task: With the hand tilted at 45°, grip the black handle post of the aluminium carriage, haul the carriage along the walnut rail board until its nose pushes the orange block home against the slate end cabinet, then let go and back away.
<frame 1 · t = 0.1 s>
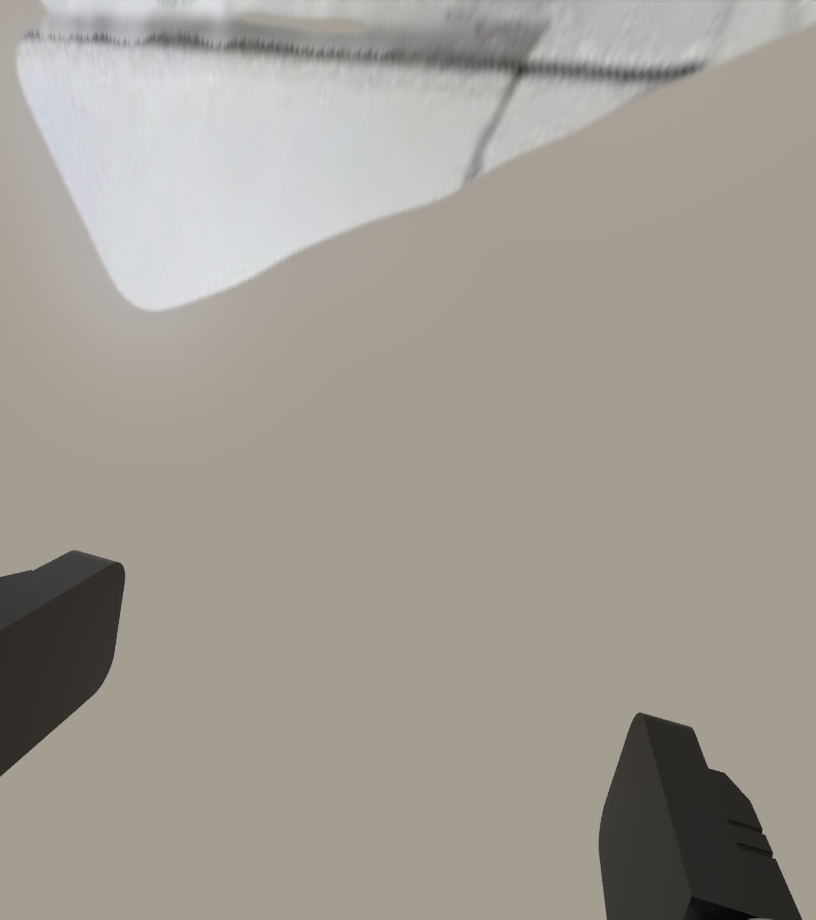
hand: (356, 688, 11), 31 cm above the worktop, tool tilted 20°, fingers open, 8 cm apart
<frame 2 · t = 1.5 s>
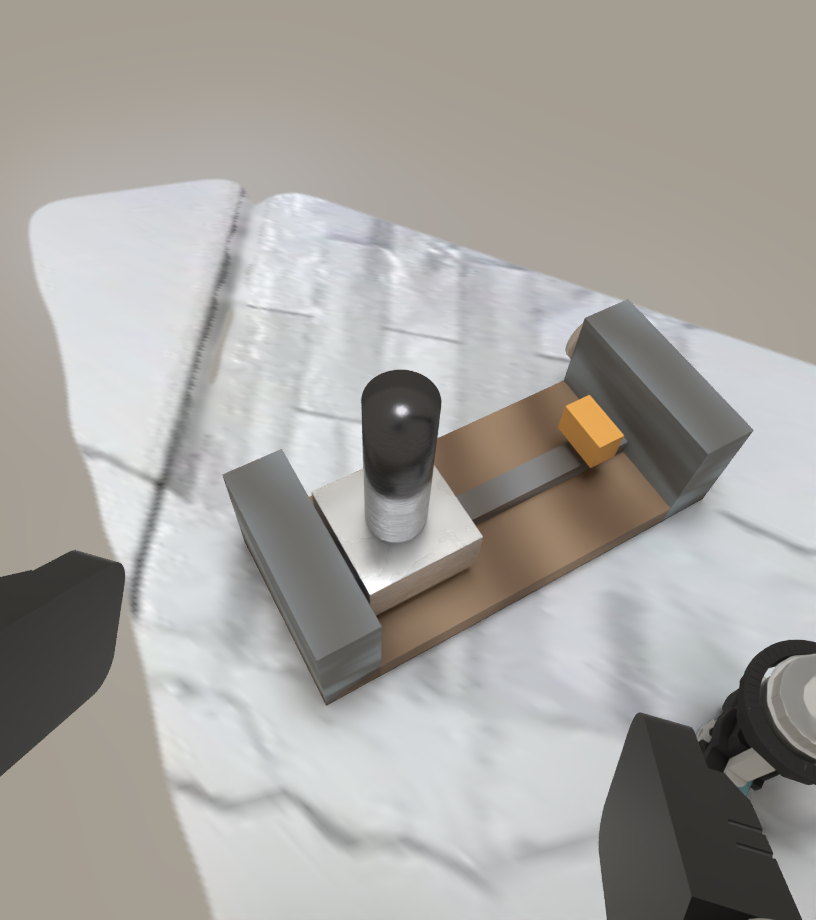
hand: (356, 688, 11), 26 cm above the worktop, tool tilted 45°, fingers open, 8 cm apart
rail base: (480, 519, 42), on the worktop
carriage: (397, 482, 33), point 9 cm above the worktop, slide at 5.5 cm
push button: (727, 745, 36), on the worktop
orange block: (590, 431, 40), point 4 cm above the worktop, slide at 1.5 cm
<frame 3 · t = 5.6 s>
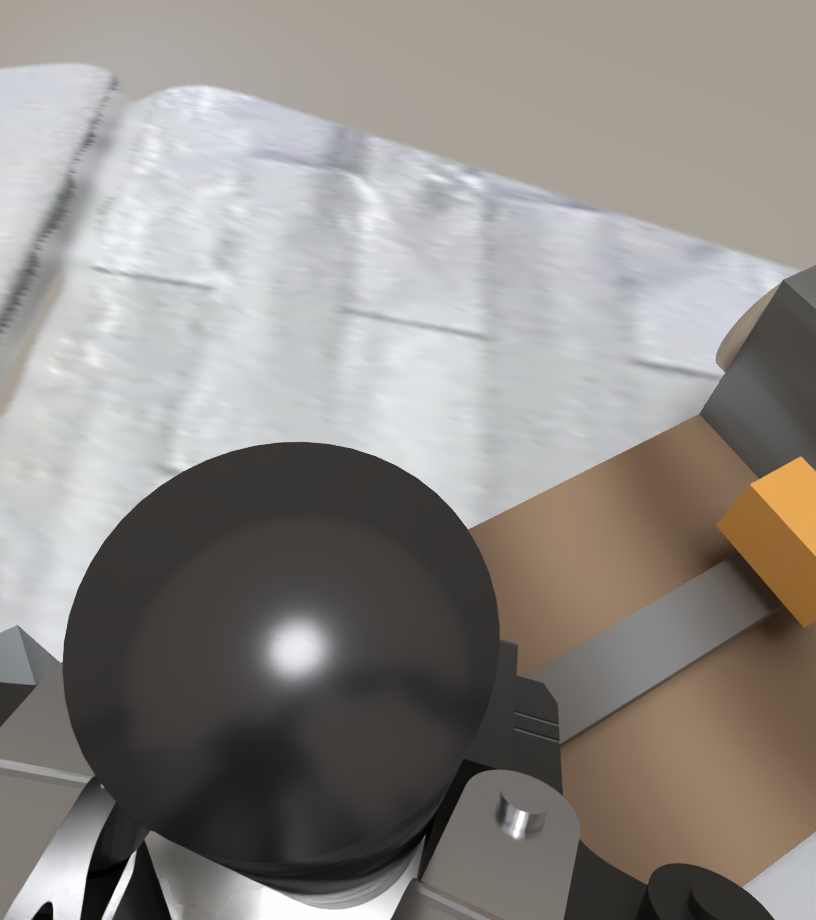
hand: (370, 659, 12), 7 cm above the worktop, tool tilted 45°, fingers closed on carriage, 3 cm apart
rail base: (540, 724, 19), on the worktop
carriage: (328, 775, 10), point 9 cm above the worktop, slide at 5.5 cm, touching gripper
orange block: (802, 541, 17), point 4 cm above the worktop, slide at 1.5 cm
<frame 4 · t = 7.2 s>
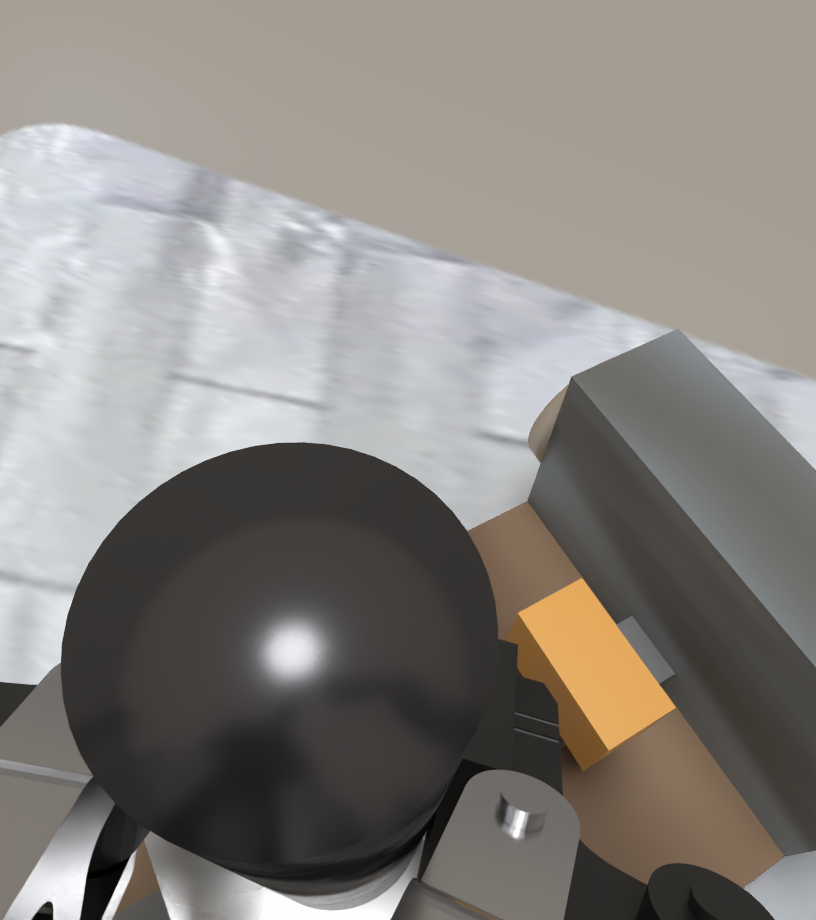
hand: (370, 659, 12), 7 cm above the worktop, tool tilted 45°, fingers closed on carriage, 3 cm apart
rail base: (314, 862, 17), on the worktop
carriage: (327, 776, 10), point 9 cm above the worktop, slide at -0.8 cm, touching gripper
orange block: (582, 674, 16), point 4 cm above the worktop, slide at 1.5 cm
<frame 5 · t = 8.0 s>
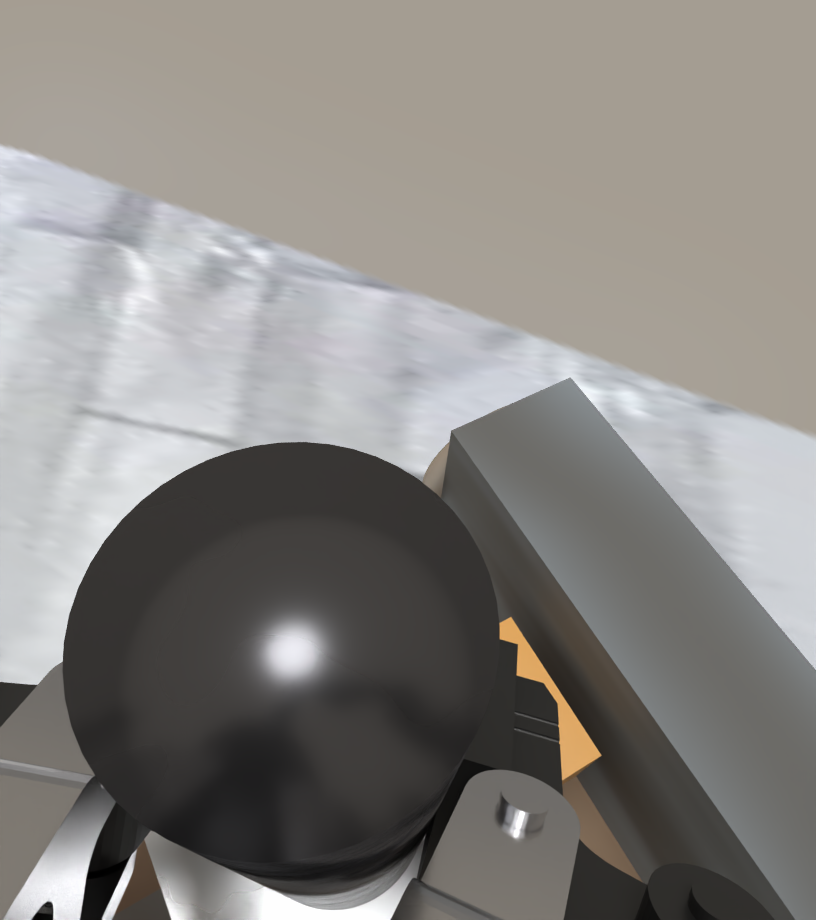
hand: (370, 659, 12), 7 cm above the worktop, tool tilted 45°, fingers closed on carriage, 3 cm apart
carriage: (328, 776, 10), point 9 cm above the worktop, slide at -3.9 cm, touching orange block, gripper
orange block: (511, 716, 15), point 4 cm above the worktop, slide at 0.2 cm, touching carriage
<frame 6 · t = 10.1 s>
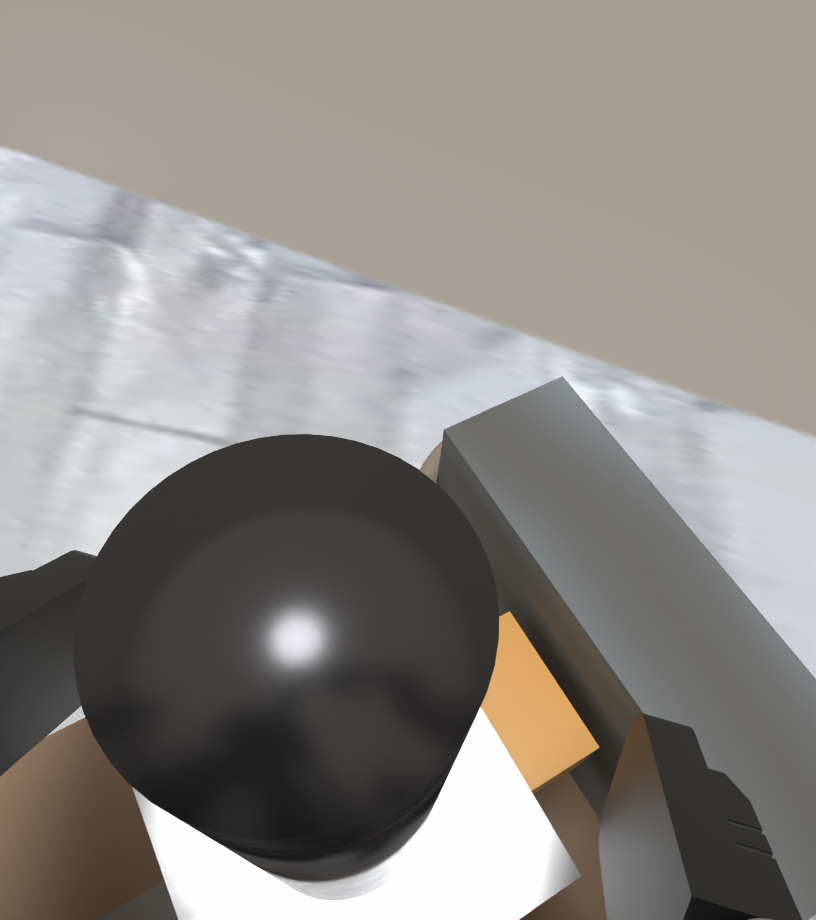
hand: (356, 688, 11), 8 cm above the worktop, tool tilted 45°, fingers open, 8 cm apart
carriage: (330, 766, 10), point 9 cm above the worktop, slide at -4.0 cm, touching orange block
orange block: (510, 709, 15), point 4 cm above the worktop, slide at 0.1 cm, touching carriage
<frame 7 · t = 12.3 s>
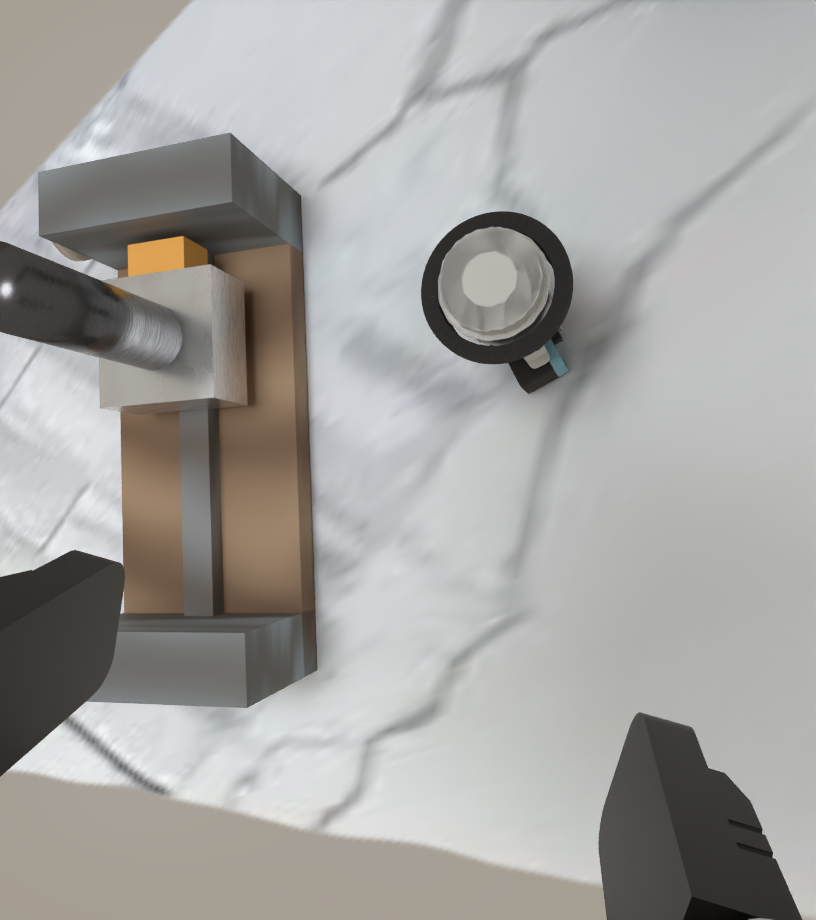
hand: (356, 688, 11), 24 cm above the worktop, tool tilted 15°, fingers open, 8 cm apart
rail base: (220, 434, 39), on the worktop
carriage: (110, 323, 32), point 9 cm above the worktop, slide at -4.0 cm, touching orange block
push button: (523, 326, 35), on the worktop
orange block: (168, 263, 36), point 4 cm above the worktop, slide at 0.1 cm, touching carriage
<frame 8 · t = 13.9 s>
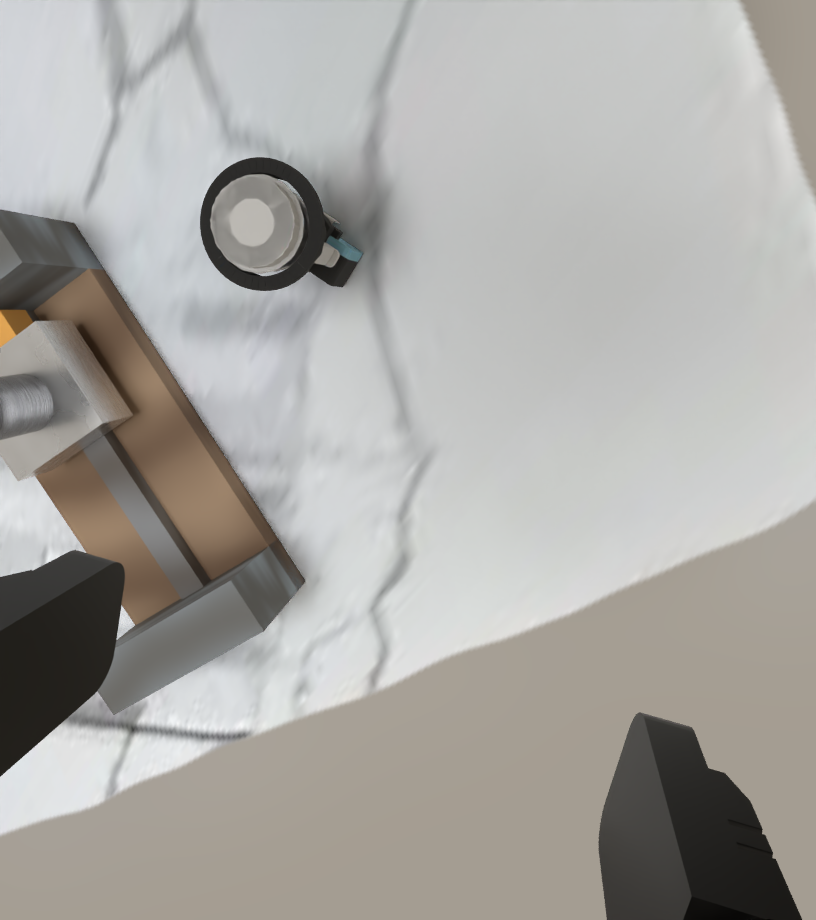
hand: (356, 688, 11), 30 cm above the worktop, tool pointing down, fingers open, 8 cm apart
rail base: (127, 450, 44), on the worktop
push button: (310, 236, 40), on the worktop
orange block: (0, 338, 40), point 4 cm above the worktop, slide at 0.1 cm, touching carriage
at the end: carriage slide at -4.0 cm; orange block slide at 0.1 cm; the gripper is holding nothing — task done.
